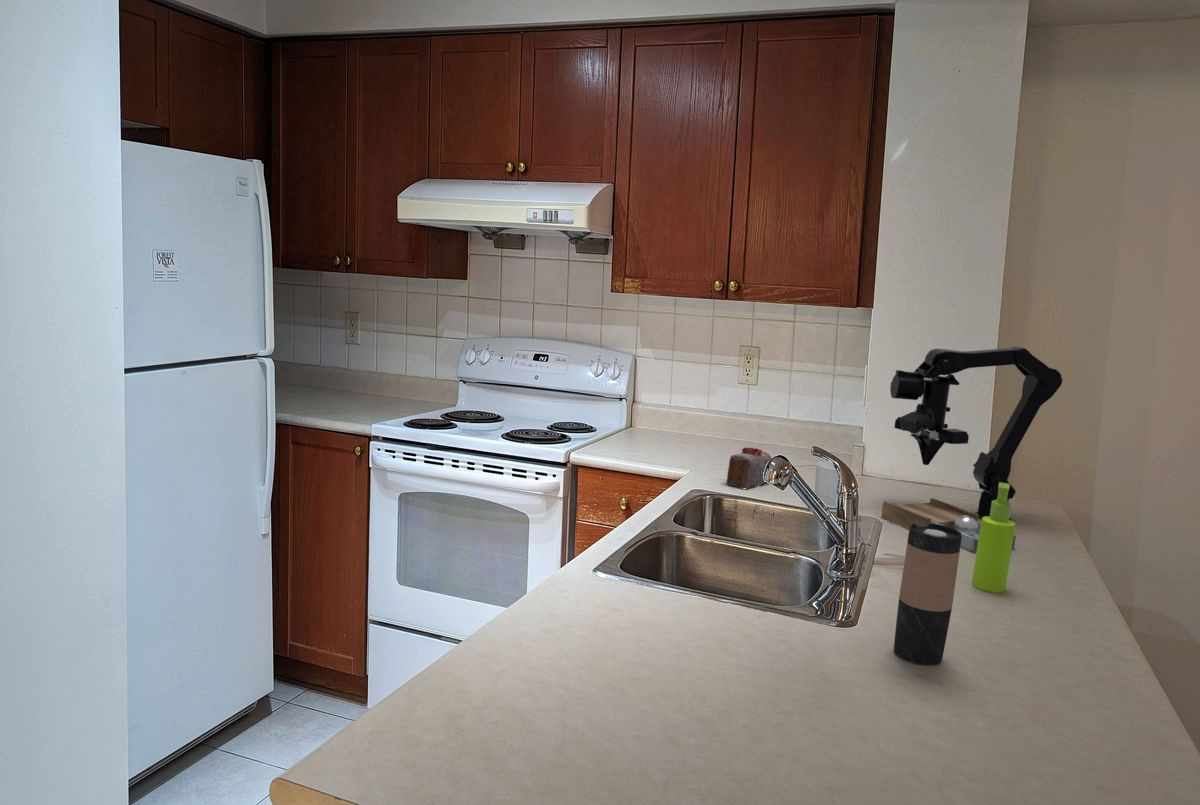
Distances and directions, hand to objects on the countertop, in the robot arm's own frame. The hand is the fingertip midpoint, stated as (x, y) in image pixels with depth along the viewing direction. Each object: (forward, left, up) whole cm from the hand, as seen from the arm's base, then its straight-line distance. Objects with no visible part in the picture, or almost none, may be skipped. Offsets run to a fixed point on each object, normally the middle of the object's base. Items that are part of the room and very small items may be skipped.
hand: (925, 464), depth 224 cm
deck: (+6, +9, -12) cm, 16 cm away
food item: (+29, -31, -12) cm, 44 cm away
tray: (+6, +22, -12) cm, 26 cm away
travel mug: (+64, +64, -12) cm, 91 cm away
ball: (+6, +20, -9) cm, 23 cm away
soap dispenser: (+26, +44, -12) cm, 52 cm away
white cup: (+20, -10, -12) cm, 26 cm away
